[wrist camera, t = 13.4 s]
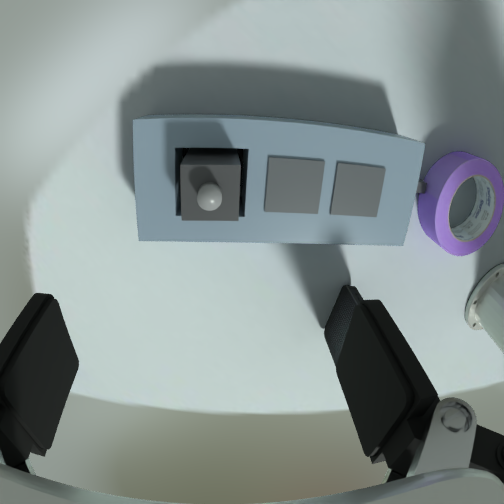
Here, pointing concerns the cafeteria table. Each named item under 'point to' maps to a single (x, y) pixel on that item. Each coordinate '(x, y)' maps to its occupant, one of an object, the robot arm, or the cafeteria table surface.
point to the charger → (210, 184)
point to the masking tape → (442, 192)
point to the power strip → (281, 180)
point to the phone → (341, 319)
